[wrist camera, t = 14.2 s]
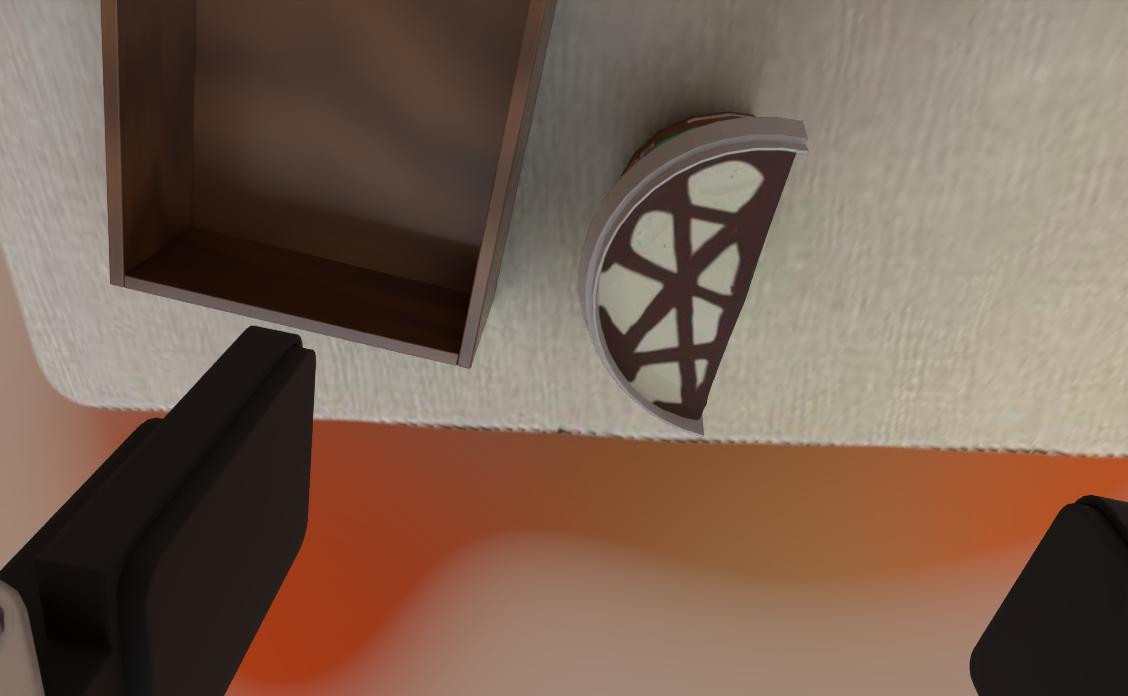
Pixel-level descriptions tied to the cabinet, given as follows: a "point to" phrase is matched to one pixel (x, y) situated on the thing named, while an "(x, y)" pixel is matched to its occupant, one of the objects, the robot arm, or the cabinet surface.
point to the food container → (682, 255)
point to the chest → (321, 159)
